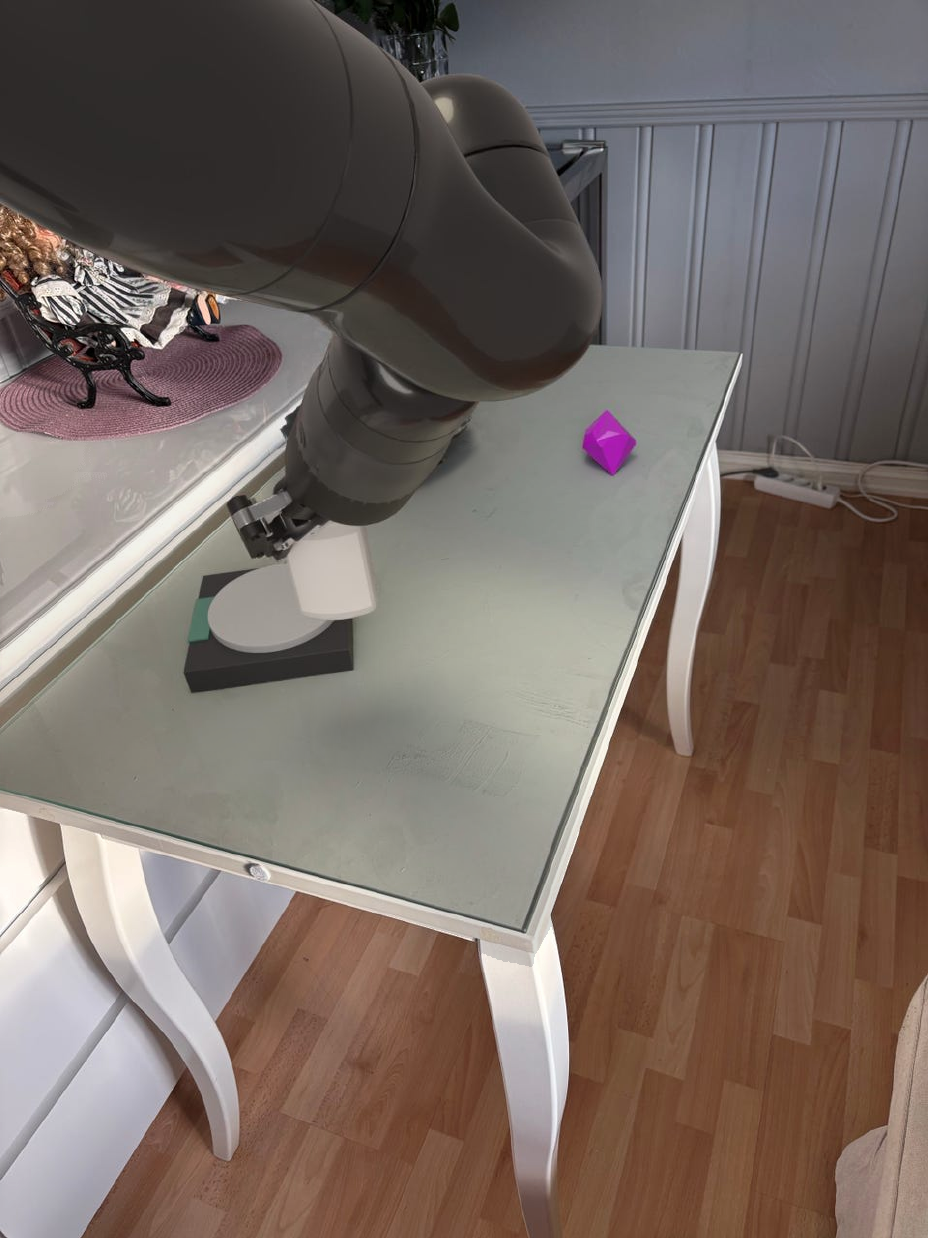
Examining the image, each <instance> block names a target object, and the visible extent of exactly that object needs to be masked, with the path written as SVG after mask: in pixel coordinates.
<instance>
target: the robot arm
mask: <svg viewBox="0 0 928 1238" xmlns="http://www.w3.org/2000/svg"><path fill="white" fill-rule="evenodd" d="M552 161H553V160H552V157H551V156H550V153H549V151H548V149H547V146H546V144H545V141H544V140H543V138H542V136H541V133H540V131H539V129H538V127H537V125H536V123H535V121H534V119H533V118H532V116H531V114H530V113H529V111H528V110H527V109H526V106H525V105H523V103H522V102H521V100H519V98H517V96H516V95H514V94H513V93H512V92H511V91H510V90H509V89H508V88H507V87H505V86H504V85H502V84H500V83H499V82H497V81H495V80H493V79H490V78H488V77H484V76H482V75H478V74H474V73H449V74H441V75H437V76H434V77H431V78H427V79H425V80H423V81H421V82H420V81H419V80H418V78H416V76H415V75H413V73H412V72H410V71H409V69H408V68H406V67H405V66H404V65H403V64H402V63H401V62H400V61H399V60H398V59H397V58H396V57H394V56H393V55H392V54H391V53H389V52H388V51H387V50H385V49H384V48H383V47H382V46H380V45H378V44H377V43H375V42H373V41H372V40H371V39H369V38H368V37H366V36H365V35H364V34H363V33H361V32H360V31H358V30H357V29H355V28H354V27H353V26H351V25H350V24H349V23H347V22H345V20H343V19H341V17H338V16H337V15H336V14H334V13H333V12H332V11H329V10H328V9H327V8H325V7H324V6H322V5H321V4H320V3H319V2H317V1H315V0H0V205H1V206H3V207H5V208H7V209H9V211H12V212H14V213H16V214H17V215H19V216H20V217H23V218H25V219H26V220H28V221H30V222H32V223H34V224H35V225H38V226H40V227H41V228H44V229H45V230H47V231H49V232H51V233H53V234H54V235H57V236H59V237H60V238H62V239H65V240H67V241H69V242H70V243H73V244H74V245H77V246H79V247H80V248H83V249H85V250H86V251H89V252H91V253H93V254H95V255H97V256H99V257H101V258H103V259H106V260H108V261H110V262H111V263H115V264H117V265H120V266H122V267H124V268H127V269H129V270H132V271H134V272H137V273H140V274H142V275H145V276H148V277H151V278H154V279H157V280H161V281H164V282H167V283H170V284H174V285H178V286H181V287H186V288H190V289H194V290H198V291H201V292H205V293H209V294H214V295H218V296H221V297H226V298H232V299H235V300H241V301H244V302H247V303H253V304H257V305H262V306H267V307H270V308H275V309H280V310H285V311H289V312H294V313H299V314H304V315H308V316H310V317H311V318H312V319H314V320H315V321H317V322H318V323H319V324H320V325H322V326H324V328H325V329H326V330H328V331H330V332H331V334H332V335H331V338H330V340H329V342H328V345H327V348H326V350H325V354H324V355H323V359H322V361H321V362H320V363H319V365H318V366H317V367H316V369H315V370H314V372H313V374H312V375H311V377H310V378H309V381H308V383H307V386H306V388H305V391H304V394H303V396H302V399H301V402H300V403H299V405H300V407H299V410H298V412H297V415H296V418H295V421H294V423H293V426H292V429H291V431H290V434H289V437H288V440H286V445H285V453H284V471H285V473H284V474H285V475H284V476H283V477H282V478H281V479H280V480H278V482H277V483H275V485H274V486H273V490H272V494H271V495H270V497H267V498H264V499H262V500H261V501H257V499H256V497H255V496H252V497H249V498H248V496H247V495H246V494H241V495H235V496H233V497H231V498H230V499H229V500H228V501H227V502H226V508H227V510H228V513H229V515H230V517H231V520H232V523H233V525H234V527H235V529H236V531H237V533H238V535H239V537H240V539H241V541H242V543H243V545H244V547H245V549H246V551H247V553H248V555H249V557H250V558H251V559H253V560H254V559H261V558H263V557H266V558H268V559H270V558H271V557H273V558H274V560H275V561H277V562H278V561H280V560H283V559H286V557H287V555H288V553H289V551H290V550H291V548H292V546H293V544H294V542H295V541H296V542H298V541H301V540H304V539H307V538H311V537H313V536H315V535H316V534H317V533H318V532H320V531H321V530H322V529H323V528H324V527H326V526H327V525H328V524H331V523H334V522H336V523H339V524H343V525H349V526H366V527H367V526H371V525H376V524H379V523H381V522H384V521H385V520H388V519H390V518H392V517H393V516H394V515H396V514H397V513H398V512H400V511H401V509H402V508H404V506H405V505H406V504H407V502H408V501H409V500H410V499H411V498H412V497H413V495H414V494H415V493H416V492H417V490H418V489H419V488H420V486H422V484H424V482H425V480H427V479H428V478H429V477H430V476H431V475H432V474H433V473H434V472H435V471H436V470H438V468H440V467H441V466H442V465H443V464H444V463H445V462H446V461H447V460H448V457H447V455H446V452H447V450H448V448H449V446H450V445H449V443H450V441H451V438H452V437H453V436H454V435H455V433H456V432H457V431H458V429H459V428H460V427H461V426H462V424H463V423H464V422H465V421H466V420H467V419H468V417H469V416H470V415H472V414H473V412H475V410H476V408H477V407H478V406H479V404H480V403H483V402H484V403H487V402H489V403H491V402H503V401H509V400H514V399H519V398H522V397H526V396H528V395H531V394H532V395H533V394H534V393H537V392H539V391H541V390H543V389H545V388H547V387H548V386H551V385H553V384H554V383H555V382H557V381H559V380H560V379H562V378H563V377H564V376H565V375H566V374H568V373H569V372H570V371H571V370H572V369H573V368H574V367H575V366H576V365H577V364H578V363H579V362H580V361H581V359H582V358H583V357H584V356H585V354H586V353H587V352H588V350H589V348H590V347H591V344H592V342H593V340H594V338H595V336H596V334H597V332H598V328H599V326H600V322H601V317H602V313H603V307H604V290H603V283H602V277H601V274H600V273H601V272H600V269H599V267H598V263H597V261H596V258H595V256H594V253H593V251H592V249H591V247H590V244H589V242H588V240H587V237H586V235H585V233H584V231H583V229H582V226H581V224H580V222H579V219H578V217H577V215H576V213H575V210H574V208H573V206H572V204H571V202H570V199H569V197H568V195H567V192H566V191H565V188H564V186H563V184H562V181H561V179H560V177H559V175H558V172H557V170H556V168H555V166H554V164H553V162H552ZM282 519H283V520H282ZM309 520H310V521H309ZM283 521H284V522H283ZM284 523H285V524H284ZM285 525H286V526H285ZM286 527H287V528H286Z"/></svg>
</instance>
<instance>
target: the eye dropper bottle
mask: <svg viewBox="0 0 928 1238" xmlns="http://www.w3.org/2000/svg"><path fill="white" fill-rule="evenodd" d="M282 520H283V519H282ZM309 521H310V520H309ZM283 522H284V521H283ZM284 524H285V523H284ZM285 526H286V525H285ZM286 528H287V527H286ZM370 545H371V544H370V541H369V535H368V530H367V525H366V526H349V525H343V524H339V523H336V522H334V523H331V524H328V525H327V526H326V527H324V528H323V529H322V530H321V531H320V532H318V533H317V534H316V535H315V536H313V537H311V538H307V539H304V540H301V541H298V542H296V541H295V542H294V544H293V546H292V548H291V550H290V551H289V553H288V555H287V557H285V560H286V563H287V564H288V568H289V572H290V575H291V579H292V583H293V587H294V590H295V594H296V598H297V602H298V605H299V609H300V612H301V613H302V614H303V615H304V616H306V617H309V618H313V619H320V620H343V619H350V618H353V619H354V618H355V619H356V618H358V617H362V616H366V615H369V614H371V613H373V612H374V611H375V610H376V608H377V607H378V604H379V602H378V601H379V595H380V592H379V585H378V581H377V580H378V579H377V576H376V575H377V574H376V571H375V564H374V560H373V555H372V550H371V546H370Z"/></svg>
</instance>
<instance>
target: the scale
mask: <svg viewBox="0 0 928 1238" xmlns="http://www.w3.org/2000/svg"><path fill="white" fill-rule="evenodd" d="M353 620H354V618H350V619H343V620H320V619H313V618H309V617H306V616H304V615H303V614H302V613H301V612H300V609H299V605H298V602H297V598H296V594H295V590H294V587H293V583H292V579H291V575H290V572H289V568H288V564H287V562H285V563H277V564H270V565H267V566H266V565H265V566H262V567H255V568H248V569H241V570H233V571H226V572H219V573H213V574H206V575H202V578H201V584H200V588H199V594H198V597H197V598H196V600H195V603H194V607H193V613H192V617H191V622H190V628H189V632H188V637H187V643H188V648H187V653H186V658H185V663H184V666H183V672H182V673H183V675H184V678H185V681H186V683H187V686H188V688H189V691H190V693H191V694H194V693H199V692H201V693H202V692H206V691H207V692H208V691H213V690H214V691H215V690H222V689H229V688H235V687H242V686H250V685H256V684H263V683H264V684H265V683H270V682H277V681H284V680H292V679H298V678H306V677H312V676H319V675H326V674H327V675H328V674H333V673H339V672H341V673H342V672H347V671H348V672H349V671H353V670H354V624H353V622H354V621H353Z"/></svg>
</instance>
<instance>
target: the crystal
mask: <svg viewBox="0 0 928 1238" xmlns="http://www.w3.org/2000/svg"><path fill="white" fill-rule="evenodd" d="M636 445H637V440H636V439H635V437H634V436H633V435H632V434H631V433H630V432H629V431H628V430H627V429H626V428H625V427H624V426H623V425H622V424H621V422H619V420H617V418H615V416H613V414H612V413H611V412H610V411H609V410H608V409H606V410H605V411H604V412H603V413H601V415H599V417H597V418H596V419H595V420H594V421H593V422H592V423H591V424H589V426H587V428H586V429H585V432H584V436H583V440H582V446H581V449H582V450H584V451H585V452H586V453H587V454H588V455H589V456H590V457H591V458H592V459H594V460H595V461H596V462H597V463H598V464H599V465H600V466H601V467H603V468H604V469H605V470H606V471H607V472H608V474H610V475H611V476H614V475H615V473H616V472H617V471H618V469H619V468H620V467H621V466H622V464H623V463H624V461H625V460H626V458H627V457H628V456H629V455H630V453H631V452H632V451H633V450H634V448H635V447H636Z"/></svg>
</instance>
